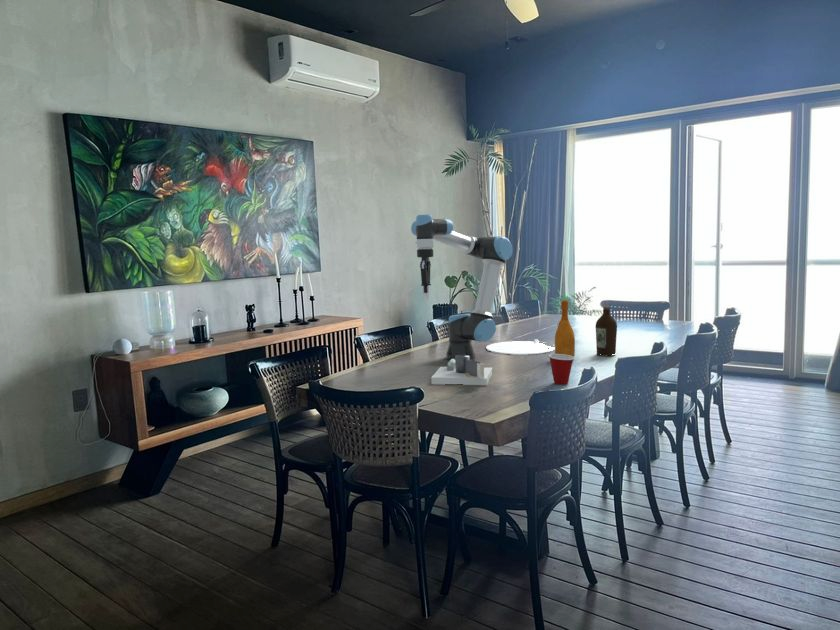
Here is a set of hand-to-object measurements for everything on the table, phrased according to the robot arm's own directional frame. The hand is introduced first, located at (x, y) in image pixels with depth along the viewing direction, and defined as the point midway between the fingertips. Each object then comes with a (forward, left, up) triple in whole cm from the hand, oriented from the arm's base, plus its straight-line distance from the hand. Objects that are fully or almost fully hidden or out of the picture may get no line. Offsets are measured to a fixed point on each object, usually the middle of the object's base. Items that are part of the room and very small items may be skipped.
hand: (426, 299), depth 284 cm
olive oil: (-49, +84, -35) cm, 103 cm away
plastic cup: (+16, +61, -35) cm, 72 cm away
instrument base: (+11, +18, -34) cm, 40 cm away
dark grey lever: (+17, +22, -31) cm, 42 cm away
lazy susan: (-65, +40, -35) cm, 84 cm away
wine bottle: (-35, +63, -35) cm, 80 cm away
